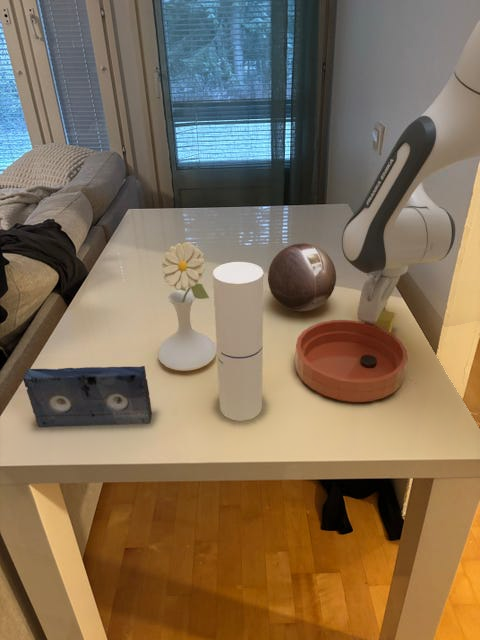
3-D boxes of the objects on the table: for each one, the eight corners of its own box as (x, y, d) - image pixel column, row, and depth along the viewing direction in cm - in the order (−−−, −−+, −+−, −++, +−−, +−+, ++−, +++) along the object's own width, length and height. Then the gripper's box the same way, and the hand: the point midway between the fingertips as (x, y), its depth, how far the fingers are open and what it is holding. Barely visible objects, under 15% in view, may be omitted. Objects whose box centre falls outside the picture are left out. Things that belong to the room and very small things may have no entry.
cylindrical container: (245, 427, 75) (243, 288, 62) (211, 409, 78) (202, 274, 65) (270, 402, 79) (273, 269, 66) (237, 387, 83) (233, 257, 70)
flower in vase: (147, 357, 91) (129, 237, 78) (193, 335, 98) (184, 221, 85) (186, 389, 83) (173, 260, 70) (234, 363, 89) (230, 240, 76)
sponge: (392, 329, 99) (395, 312, 97) (387, 338, 96) (390, 321, 94) (364, 322, 101) (366, 306, 99) (359, 331, 98) (361, 314, 96)
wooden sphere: (302, 331, 98) (306, 266, 91) (254, 306, 108) (254, 245, 100) (346, 307, 107) (353, 246, 99) (298, 286, 116) (301, 228, 109)
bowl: (412, 356, 90) (417, 334, 88) (388, 419, 76) (393, 395, 73) (317, 331, 98) (318, 311, 96) (278, 384, 84) (279, 361, 81)
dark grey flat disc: (378, 361, 88) (378, 357, 87) (374, 370, 85) (374, 365, 85) (362, 357, 89) (363, 353, 88) (357, 365, 87) (358, 361, 86)
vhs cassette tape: (153, 413, 78) (145, 365, 73) (150, 425, 75) (142, 376, 70) (43, 414, 78) (28, 366, 73) (37, 427, 75) (21, 378, 70)
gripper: (389, 284, 81) (378, 349, 88) (412, 243, 96) (401, 302, 103) (353, 277, 84) (345, 340, 91) (381, 238, 99) (373, 296, 106)
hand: (375, 319), depth 97 cm, fingers open, 8 cm apart
